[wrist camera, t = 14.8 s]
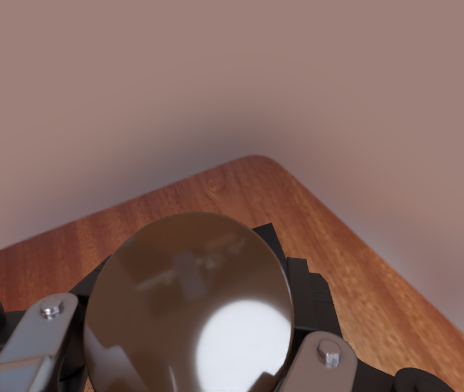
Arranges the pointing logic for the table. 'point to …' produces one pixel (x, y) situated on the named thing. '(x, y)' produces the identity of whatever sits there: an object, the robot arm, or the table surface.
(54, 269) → the table surface
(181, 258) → the jar
